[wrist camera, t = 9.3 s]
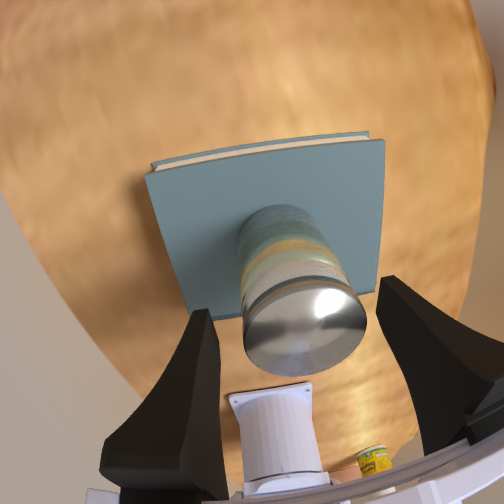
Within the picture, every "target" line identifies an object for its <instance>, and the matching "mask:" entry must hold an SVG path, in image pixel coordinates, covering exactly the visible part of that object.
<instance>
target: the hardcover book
mask: <svg viewBox="0 0 504 504" xmlns="http://www.w3.org/2000/svg"><path fill="white" fill-rule="evenodd" d="M152 165H153V169H154V171H153V172H149V173H146V174H145V175H144V178H145V181H146V185H147V188H148V192H149V195H150V198H151V202H152V205H153V208H154V212H155V215H156V218H157V222H158V225H159V228H160V231H161V234H162V237H163V241H164V244H165V247H166V250H167V253H168V256H169V259H170V262H171V265H172V268H173V271H174V274H175V276H176V279H177V282H178V285H179V288H180V291H181V293H182V296H183V299H184V302H185V304H186V307H187V310H188V313H189V315H190V316H191V314H192V312H193V311H194V310H199V309H206V308H209V312H210V315H211V318H212V321H216V320H223V319H230V318H236V317H242V311H241V299H240V286H239V273H238V251H237V239H238V235H239V232H240V229H241V227H242V226H243V224H244V223H245V221H246V220H247V219H248V218H249V217H250V216H251V215H252V214H254V213H255V212H257V211H258V210H260V209H262V208H265V207H267V206H271V205H277V204H287V205H293V206H296V207H299V208H301V209H303V210H305V211H306V212H307V213H309V214H310V215H311V216H312V217H313V218H314V220H315V221H316V223H317V225H318V226H319V228H320V230H321V232H322V234H323V235H324V237H325V238H326V240H327V241H328V243H329V245H330V247H331V248H332V250H333V252H334V254H335V256H336V258H337V259H338V261H339V263H340V265H341V267H342V269H343V271H344V272H345V274H346V276H347V278H348V280H349V282H350V285H351V287H352V289H353V290H354V291H355V293H356V294H357V296H358V295H363V294H367V293H372V292H375V285H376V278H377V269H378V260H379V251H380V240H381V229H382V215H383V199H384V176H385V140H383V139H370V138H369V131H365V132H350V133H338V134H327V135H316V136H307V137H298V138H290V139H282V140H274V141H267V142H260V143H253V144H247V145H240V146H234V147H228V148H222V149H217V150H211V151H206V152H201V153H196V154H191V155H186V156H181V157H176V158H171V159H167V160H162V161H158V162H153V163H152Z"/></svg>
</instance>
